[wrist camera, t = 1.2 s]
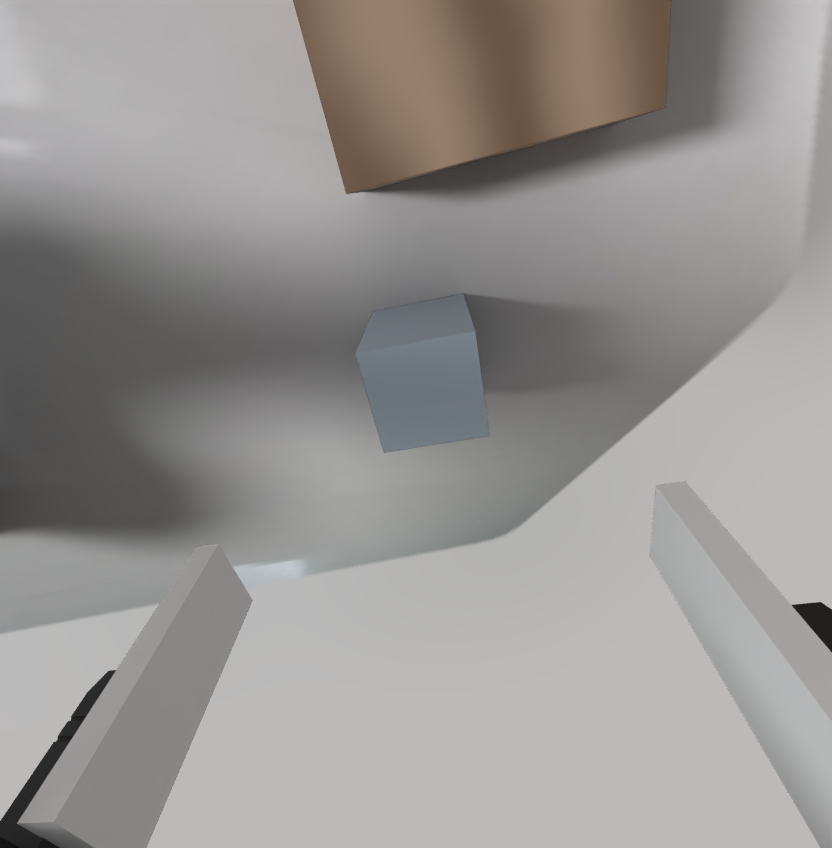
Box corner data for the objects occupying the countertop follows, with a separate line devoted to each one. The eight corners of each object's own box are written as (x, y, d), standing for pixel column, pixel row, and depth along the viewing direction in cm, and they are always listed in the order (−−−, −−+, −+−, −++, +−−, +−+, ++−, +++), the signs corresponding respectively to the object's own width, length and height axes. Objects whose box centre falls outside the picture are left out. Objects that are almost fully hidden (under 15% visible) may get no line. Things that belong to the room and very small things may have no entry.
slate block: (393, 391, 31) (383, 452, 24) (373, 311, 28) (355, 354, 21) (475, 377, 30) (489, 435, 23) (462, 293, 27) (475, 330, 20)
